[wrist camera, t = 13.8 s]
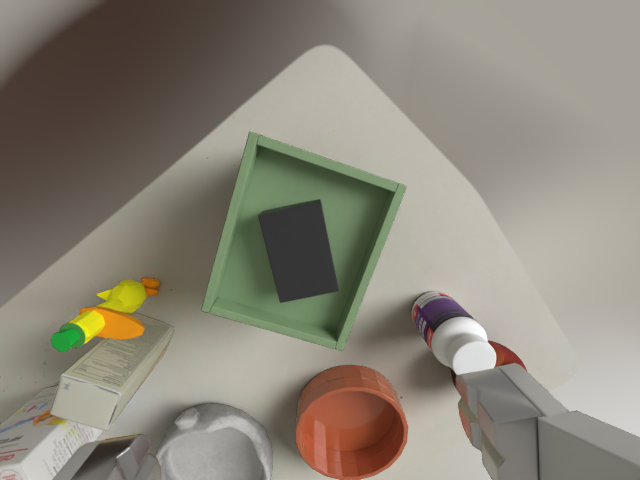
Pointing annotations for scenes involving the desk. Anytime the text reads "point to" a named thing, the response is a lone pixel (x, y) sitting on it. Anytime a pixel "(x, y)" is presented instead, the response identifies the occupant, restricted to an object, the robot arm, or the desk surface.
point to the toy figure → (108, 316)
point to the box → (109, 376)
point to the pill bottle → (452, 333)
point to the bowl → (350, 423)
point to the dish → (215, 446)
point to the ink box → (39, 440)
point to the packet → (299, 250)
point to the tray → (343, 232)
